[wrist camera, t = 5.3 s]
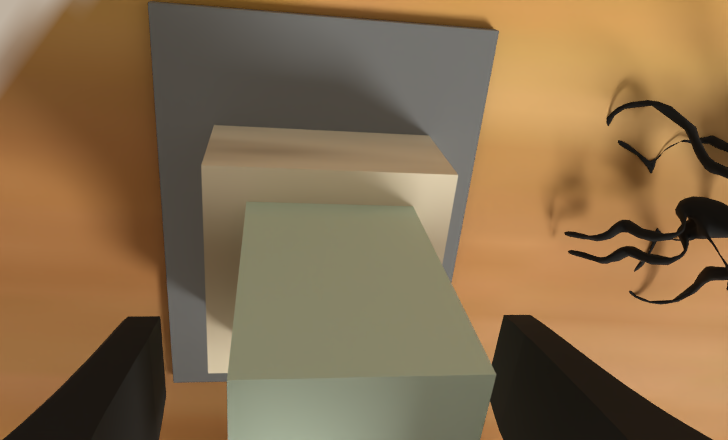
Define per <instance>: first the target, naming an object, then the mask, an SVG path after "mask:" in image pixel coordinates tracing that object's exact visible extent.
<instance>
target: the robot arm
mask: <svg viewBox="0 0 728 440" xmlns="http://www.w3.org/2000/svg"><path fill="white" fill-rule="evenodd" d="M492 367H493V369H494V371H495V373H496V378H495V382H494V386H493V390H492V394H491V398H490V402H491V405H492V409H493V412H494V415H495V418H496V422H497V425H498V428H499V431H500V433H501V435H502V438H503V440H713V439H711V438H709V437H707V436H705V435H704V434H702V433H700V432H699V431H697V430H695V429H693V428H692V427H690V426H688V425H687V424H685V423H683V422H682V421H680V420H678V419H676V418H675V417H673V416H671V415H670V414H668V413H667V412H665V411H663V410H662V409H660V408H659V407H657V406H656V405H654V404H653V403H651V402H650V401H648V400H647V399H645V398H644V397H642V396H641V395H639V394H638V393H636V392H635V391H633V390H632V389H630V388H629V387H628V386H626V385H625V384H623V383H622V382H620V381H619V380H618V379H616V378H615V377H613V376H612V375H611V374H609V373H608V372H607V371H605V370H604V369H602V368H601V367H600V366H598V365H597V364H596V363H594V362H593V361H592V360H590V359H589V358H588V357H586V356H585V355H584V354H582V353H581V352H580V351H579V350H577V349H576V348H575V347H573V346H572V345H571V344H569V343H568V342H567V341H565V340H564V339H563V338H562V337H560V336H559V335H558V334H556V333H555V332H554V331H552V330H551V329H550V328H548V327H547V326H546V325H544V324H543V323H541V322H540V321H539V320H537V319H536V318H534V317H533V316H531V315H504V317H503V321H502V325H501V329H500V333H499V337H498V341H497V345H496V350H495V354H494V358H493V362H492ZM165 400H166V387H165V374H164V360H163V347H162V334H161V321H160V317H127V318H126V319H125V320H124V321H122V322H121V324H120V325H119V326H118V327H117V328H116V329H115V330H114V331H113V332H112V334H111V335H110V336H109V337H108V338H107V339H106V340H105V341H104V342H103V344H102V345H101V346H100V347H99V348H98V349H97V350H96V351H95V352H94V353H93V354H92V355H91V357H90V358H89V359H88V360H87V361H86V362H85V363H84V364H83V365H82V366H81V367H80V368H79V369H78V370H77V371H76V372H75V373H74V374H73V375H72V376H71V377H70V378H69V379H68V380H67V381H66V382H65V383H64V384H63V385H62V386H61V387H60V388H59V389H58V390H57V391H56V392H55V393H54V394H53V395H52V396H51V397H50V398H49V399H48V400H47V401H45V402H44V403H43V404H42V405H41V406H40V407H39V408H38V409H37V410H36V411H35V412H34V413H32V414H31V415H30V416H29V417H28V418H27V419H26V420H25V421H24V422H23V423H22V424H20V425H19V426H18V427H17V428H16V429H15V430H13V431H12V432H11V433H10V434H9V435H8V436H6V437H5V438H4V439H3V440H159V436H160V430H161V424H162V418H163V412H164V406H165Z"/></svg>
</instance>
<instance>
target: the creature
mask: <svg viewBox="0 0 728 440" xmlns="http://www.w3.org/2000/svg"><path fill="white" fill-rule="evenodd" d="M644 106H653V107H654V108H656V109H657V110H659V111H660V112H661V113H663V114H664V115H665V116H667V117H668V118H669V119H671V120H672V121H674V122H675V123H676V124H678V125H679V126H680V127H682V128H683V129H684V130H685V131H686V133H687V135H688V137H689V139H690V140H683V141H680V142H688V143H691V144H692V147H693V149H694V152H695V154H696V156H697V158H698V159H699V161H700V162H701V163H702V165H703V166H704V168H705V169H706V170H707V171H709V172H711V173H713V174H717V175H720V176H723V177H725V178H727V179H728V167H726V166H723V165H721V164H719V163H717V162H715V161H714V160H712V159H711V158H710V157H709V156H708V154H707V152H706V151H705V149H704V147H703V144H702V143H705V144H710V145H712V146H714V147H715V148H718V149H720V150H723V151H726V152H728V143H727V142H725V141H723V140H721V139H719V138H717V137H715V136H708V137H703V138H699V135H698V132H697V128H696V127H695V126H694V125H693V124H692V123H690V122H689V121H688V120H687V119H686V118H684V117H683V116H682V115H681V114H680V113H679V112H677V111H676V110H675V109H674V108H673V107H671V106H669V105H666V104H663V103H661V102H657V101H650V100H646V101H637V102H630V103H627V104H624V105H622V106H620V107H618V108H617V109H615V110H614V111H613V112H612V113H611V114H610V115H609V116H608V117H607V121H606V122H607V125H608V126H609V124H610V123H611V121H612V119H613V117H614V116H615V115H616V114H618V113H619V112H621V111H622V110H624V109H627V108H635V107H644ZM618 143H619V145H621V146H622V147H624V148H626V149H627V150H629V151H631V152H632V153H634V154H636V155H637V156H638V157H639V158H640V159H641V160H642V161H643V162H644V164H645V165H646V166H647V167H648V169H649V171H650V173H652V171H653V169H654V166H655V163H656V160H657V159H658V158H659V157H660V156H661V154H662V153H663V152H664V151H665V150H667V149H668V148H670V147H672V146H674V145H675V144H673V145H671V146H670V147H668V148H666V149H665V150H664V151H663V152H662V153H661V154H660V155H659V156H658V157H657V158H656V159H654V160H652V161H649V160H647V159H646V158H645V157H643V156H642V155H641V154H640V153H638V152H637V151H636V150H635V149H633V148H632V147H631V146H630V145H628V144H626V143H624V142H623V141H620V140H618ZM678 143H679V142H678ZM676 144H677V143H676ZM675 211H676V214H677V216H678V217H679V219H680V221H681V223H682V225H681V226H680V227H679V228H678V230H677V232H676V233H666V234H663V233H661V232H660V231H659V230H658V228H657V229H656V232H655V231H651V230H647V229H643V228H641V227H640V226H638V225H637V224H635V223H633V222H632V221H630V220H621V221H618V222H617V223H616V224H614V225H613V226H612V227H611V228H610V229H609V230H608V231H606V232H604V233H602V234H598V235H592V236H588V235H585V234H581V233H577V232H569V231H568V232H564V233H565V235H567V236H570V237H575V238H580V239H589V240H594V241H602V240H607V239H611V238H612V237H614V236H616V235H617V234H619V233H621V232H628V233H630V234H632V235H634V236H636V237H638V238H641V239H645V240H648V241H652V242H653V243H652V245H651V248H650V250H649V252H648V253H645V252H643V251H641V250H639V249H637V248H635V247H632V246H625V247H621V248H619V249H617V250H616V251H614V252H613V253H611V254H610V255H608V256H607V257H596V256H593V255H590V254H587V253H584V252H580V251H574V250H569V251H568V253H570V254H572V255H575V256H578V257H582V258H585V259H589V260H593V261H596V262H599V263H601V264H607V263H610V262H615V261H619V260H622V259H623V258H625V257H628V256H630V257H633V258H636V259H638V260H641V262H640V263H639V264H638V265H637V267H636V268H635V270H634V272H635V271H636V270H638V269H639V268H640V267H642V266H643V265H644V263H645V262H647V263H649V264H652V265H669V264H671V263H673V262H675V261H677V260H678V259H680V258H681V257H683V256H684V254H685V253H686V251H687V248H688V245H689V240H694V239H708V240H709V241H710V242H711V243H712V245H713V246H714V247H715V249H716V251H717V252H718V254H719V255H720V253H719V251H718V249H717V247H716V246H715V244H714V243H713V241H712V240H711V238H728V206H727V205H725V204H724V203H722V202H719V201H716V200H712V199H709V198H705V197H689V198H685V199H683V200H682V201H680V202H679V204H678V205H677V207H676V209H675ZM687 217H688V220H687V221H686V219H687ZM676 236H678V237H679V239H673V238H675V237H676ZM671 239H672V240H676V241H681V243H682V245H683V248H684V251H683V252H682V253H681V254H680V255H678V256H675V257H672V258H669V257H664V256H659V255H654V254H650V253H651V251H652V249H653V248H654V246H655V244H656V242H657V241H664V240H671ZM720 257H721V259H722V260H723V262H724V264H725V266H726V267H713V266H709V267H705V268H704V269H703V270H702V272H701V273H700V274H699V275H698V277H697V279H696V280H695V282H694V284H692V285H691V286H690V287H689V288H687V289H686V290H685V291H684V292H682V293H681V294H680V295H678V296H677V297H676V298H675V299H673V300H665V301H648V300H646V299H643V298H641V297H638V296H636V295H635V294H634V293H633V292H632V291H629V293H630V294H631V295H633V296H634V297H635V298H638V299H640V300H642V301H645V302H649V303H655V304H668V303H673V302H678V301H680V300H682V299H684V298H686V297H688V296H690V295H692V294H694V293H695V292H697V291H698V290H699V289H700V288H701V287H702V286H703V285H704V284H705V283H707V282H709V281H713V280H728V264H727V263H726V262H725V260H724V259H723V258H722V256H721V255H720ZM727 290H728V283H727Z"/></svg>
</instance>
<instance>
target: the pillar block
mask: <svg viewBox="0 0 728 440" xmlns="http://www.w3.org/2000/svg"><path fill="white" fill-rule="evenodd" d="M495 378H496V373H495V371H494V369H493V367H492V365H491V363H490V360H489V358H488V356H487V354H486V352H485V350H484V348H483V346H482V344H481V342H480V340H479V338H478V336H477V334H476V332H475V330H474V328H473V326H472V324H471V322H470V320H469V318H468V316H467V314H466V312H465V310H464V308H463V306H462V304H461V302H460V300H459V298H458V296H457V294H456V292H455V290H454V288H453V286H452V284H451V282H450V280H449V278H448V276H447V274H446V272H445V270H444V268H443V266H442V264H441V262H440V260H439V258H438V256H437V254H436V252H435V250H434V248H433V246H432V244H431V241H430V239H429V237H428V235H427V233H426V231H425V229H424V227H423V225H422V223H421V221H420V219H419V217H418V215H417V213H416V211H415V209H414V207H413V206H384V205H348V204H313V203H277V202H246V210H245V219H244V228H243V237H242V247H241V256H240V265H239V274H238V283H237V292H236V302H235V311H234V320H233V329H232V338H231V348H230V357H229V366H228V375H227V420H228V440H480V438H481V434H482V430H483V426H484V422H485V418H486V414H487V410H488V406H489V402H490V398H491V394H492V390H493V386H494V382H495Z"/></svg>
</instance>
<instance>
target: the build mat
mask: <svg viewBox="0 0 728 440" xmlns="http://www.w3.org/2000/svg"><path fill="white" fill-rule="evenodd" d="M148 12H149V27H150V41H151V56H152V71H153V86H154V100H155V115H156V130H157V145H158V159H159V174H160V189H161V204H162V218H163V233H164V248H165V263H166V277H167V292H168V307H169V322H170V336H171V351H172V366H173V381H174V383H180V382H225V381H227V375H228V373H208V355H207V324H206V294H205V264H204V234H203V204H202V174H201V164H202V161H203V158H204V155H205V152H206V149H207V146H208V142H209V139H210V136H211V133H212V130H213V127H214V125H224V126H244V127H265V128H285V129H306V130H326V131H347V132H367V133H388V134H408V135H429V136H430V138H431V139H432V140H433V142H434V143H435V144H436V146H437V147H438V148H439V150H440V151H441V152H442V154H443V155H444V156H445V158H446V159H447V160H448V162H449V163H450V164H451V166H452V167H453V169H454V170H455V171H456V173H457V174H458V180H457V185H456V191H455V196H454V202H453V208H452V213H451V219H450V224H449V230H448V236H447V241H446V247H445V252H444V258H443V264H442V266H443V268H444V270H445V272H446V274H447V276H448V278H449V280H450V282H452V276H453V271H454V266H455V261H456V255H457V250H458V245H459V239H460V234H461V229H462V224H463V218H464V213H465V208H466V203H467V197H468V192H469V187H470V181H471V176H472V171H473V166H474V160H475V155H476V150H477V144H478V139H479V134H480V129H481V123H482V118H483V113H484V108H485V102H486V97H487V92H488V86H489V81H490V76H491V71H492V65H493V60H494V55H495V49H496V44H497V39H498V34H499V31H498V30H495V29H484V28H472V27H460V26H448V25H435V24H423V23H411V22H399V21H386V20H374V19H362V18H350V17H337V16H325V15H313V14H301V13H288V12H276V11H264V10H252V9H239V8H227V7H215V6H203V5H190V4H178V3H166V2H154V1H150V2H148Z"/></svg>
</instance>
